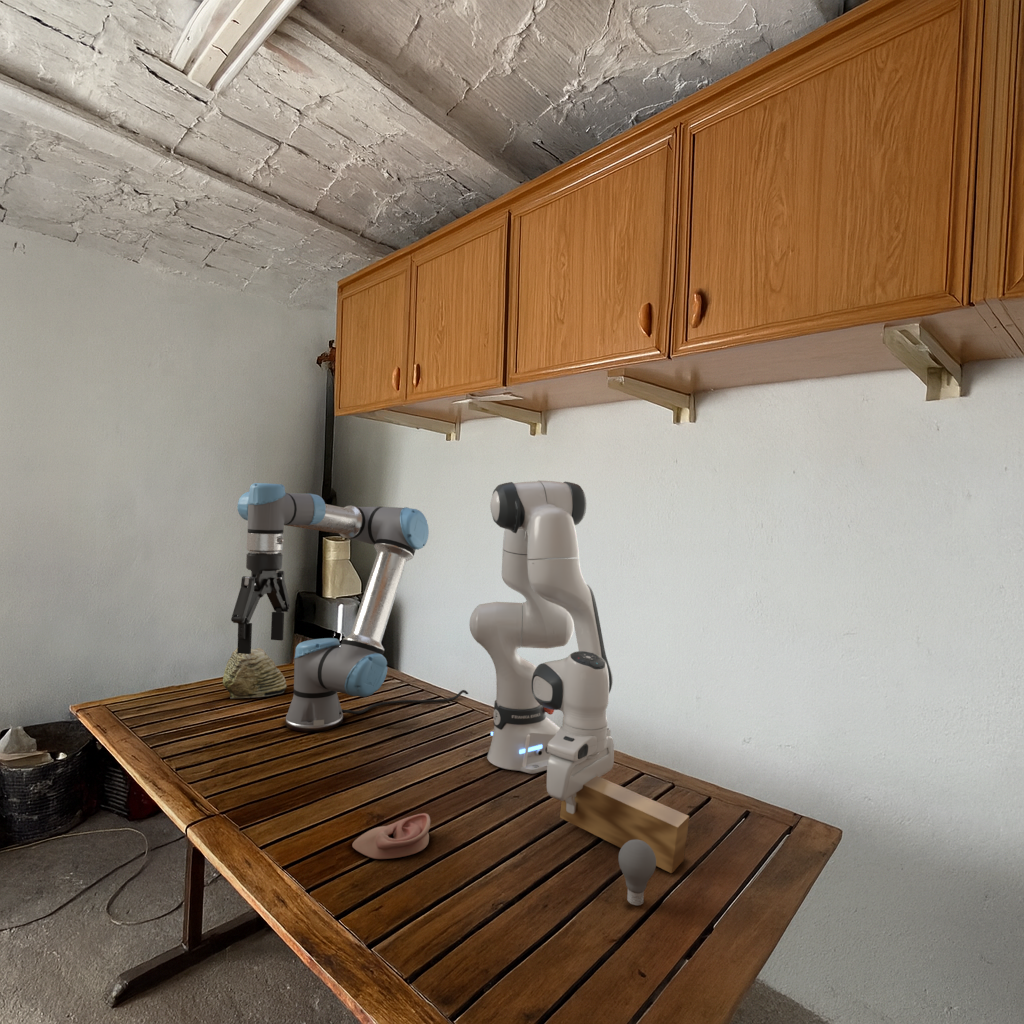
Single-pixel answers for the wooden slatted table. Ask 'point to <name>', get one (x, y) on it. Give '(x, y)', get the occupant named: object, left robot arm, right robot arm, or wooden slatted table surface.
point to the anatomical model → (395, 838)
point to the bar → (630, 820)
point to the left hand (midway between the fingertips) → (261, 646)
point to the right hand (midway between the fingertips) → (580, 805)
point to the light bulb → (636, 868)
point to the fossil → (253, 675)
